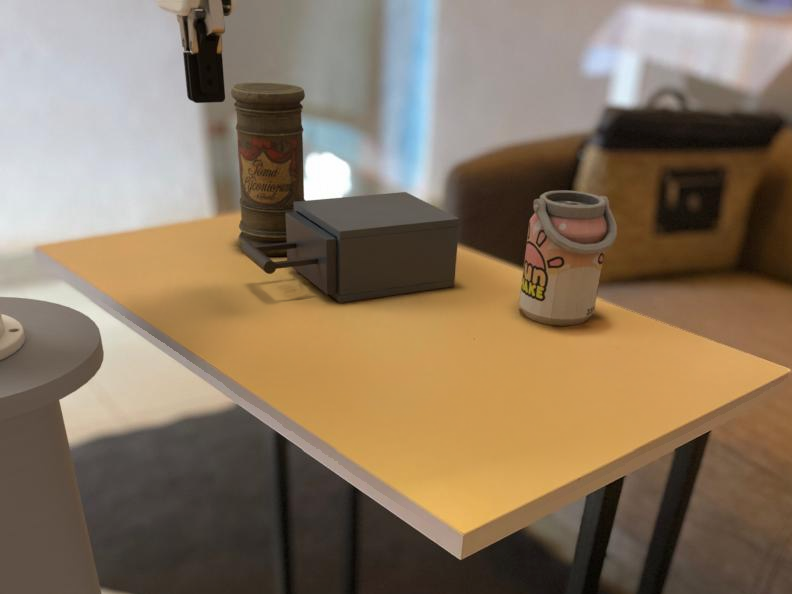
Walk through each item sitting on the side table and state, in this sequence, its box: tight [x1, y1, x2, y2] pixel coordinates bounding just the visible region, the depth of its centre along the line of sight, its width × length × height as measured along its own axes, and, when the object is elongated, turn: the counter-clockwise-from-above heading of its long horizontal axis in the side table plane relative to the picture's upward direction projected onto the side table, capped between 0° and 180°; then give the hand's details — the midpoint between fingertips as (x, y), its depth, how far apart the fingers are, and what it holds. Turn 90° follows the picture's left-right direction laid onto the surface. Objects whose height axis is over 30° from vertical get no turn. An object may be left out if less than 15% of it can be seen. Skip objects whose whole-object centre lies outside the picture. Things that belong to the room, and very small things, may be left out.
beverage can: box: [518, 189, 618, 327], centre depth 87 cm, size 9×8×12 cm
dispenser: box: [293, 191, 461, 303], centre depth 96 cm, size 15×13×8 cm
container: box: [230, 82, 306, 257], centre depth 101 cm, size 9×9×18 cm
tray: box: [241, 211, 337, 295], centre depth 94 cm, size 20×11×6 cm, turn 118°
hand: (206, 100), depth 80 cm, fingers closed
